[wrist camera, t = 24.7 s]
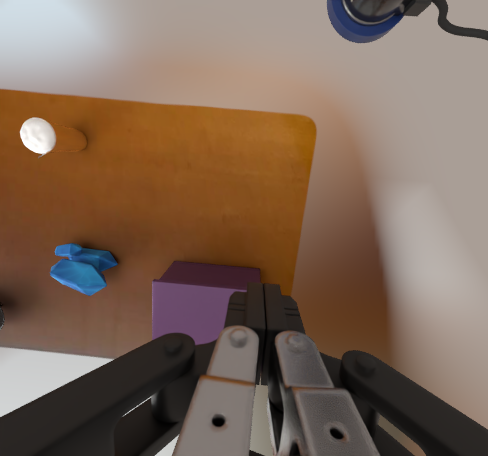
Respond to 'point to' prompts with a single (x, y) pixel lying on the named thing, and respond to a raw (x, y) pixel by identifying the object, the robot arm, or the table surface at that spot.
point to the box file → (211, 274)
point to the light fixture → (1, 318)
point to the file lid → (190, 309)
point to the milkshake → (51, 137)
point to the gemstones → (82, 268)
